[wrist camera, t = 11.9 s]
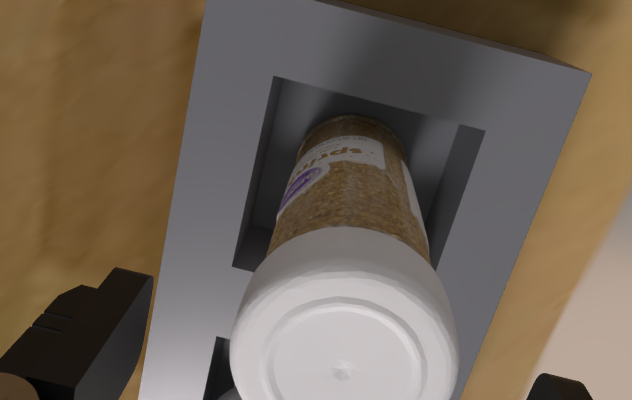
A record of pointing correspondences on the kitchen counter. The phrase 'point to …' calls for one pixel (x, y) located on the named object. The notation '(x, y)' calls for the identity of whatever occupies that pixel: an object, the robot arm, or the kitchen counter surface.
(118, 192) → the kitchen counter surface
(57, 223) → the kitchen counter surface
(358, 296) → the sprinkles bottle
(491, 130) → the tray
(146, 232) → the kitchen counter surface
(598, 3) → the kitchen counter surface
